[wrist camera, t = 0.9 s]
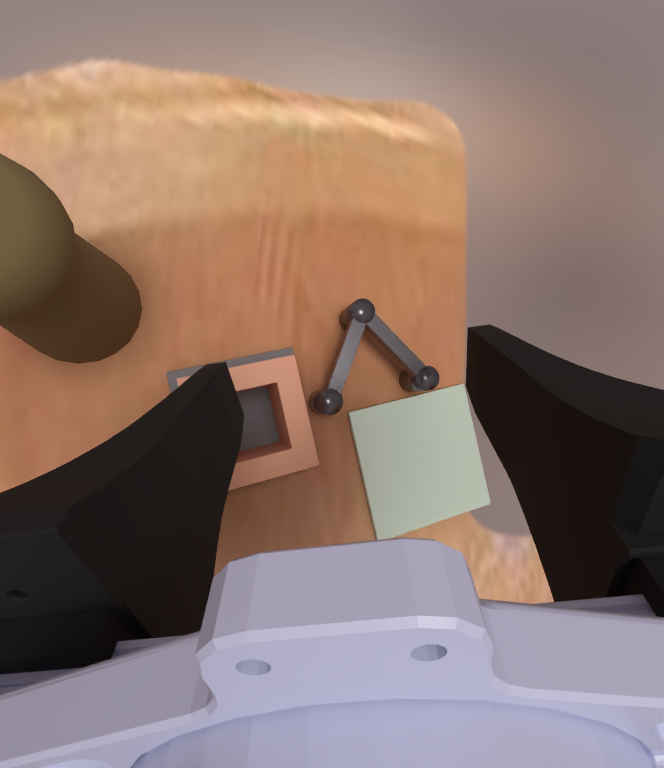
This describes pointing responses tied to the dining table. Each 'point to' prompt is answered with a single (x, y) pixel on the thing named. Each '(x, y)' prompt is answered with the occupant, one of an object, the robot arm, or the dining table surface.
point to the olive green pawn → (58, 277)
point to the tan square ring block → (289, 417)
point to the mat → (248, 401)
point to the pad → (418, 460)
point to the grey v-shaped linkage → (354, 324)
